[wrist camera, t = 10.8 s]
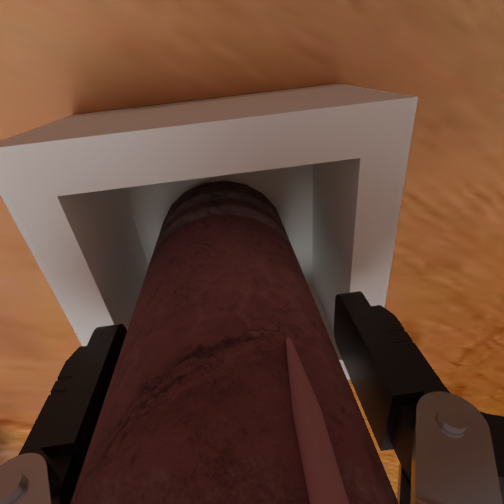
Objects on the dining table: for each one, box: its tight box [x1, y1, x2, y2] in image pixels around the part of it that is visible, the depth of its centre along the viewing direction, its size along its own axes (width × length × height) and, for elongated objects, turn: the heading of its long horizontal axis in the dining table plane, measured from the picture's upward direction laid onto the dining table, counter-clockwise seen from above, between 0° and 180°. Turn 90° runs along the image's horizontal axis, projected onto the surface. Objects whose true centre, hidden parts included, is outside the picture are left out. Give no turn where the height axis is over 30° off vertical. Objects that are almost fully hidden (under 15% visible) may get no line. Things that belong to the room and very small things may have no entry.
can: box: [70, 181, 399, 504], centre depth 10 cm, size 6×6×14 cm
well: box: [0, 83, 418, 380], centre depth 14 cm, size 12×12×6 cm
